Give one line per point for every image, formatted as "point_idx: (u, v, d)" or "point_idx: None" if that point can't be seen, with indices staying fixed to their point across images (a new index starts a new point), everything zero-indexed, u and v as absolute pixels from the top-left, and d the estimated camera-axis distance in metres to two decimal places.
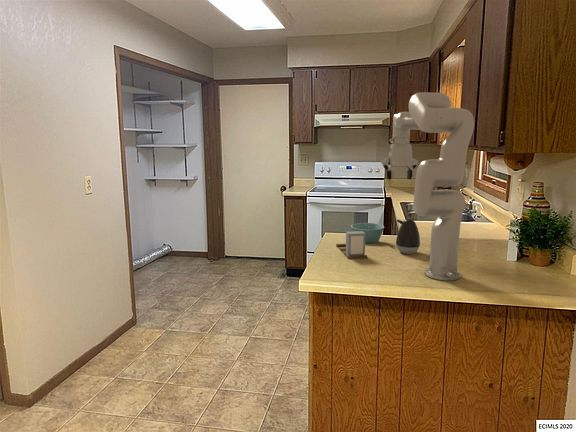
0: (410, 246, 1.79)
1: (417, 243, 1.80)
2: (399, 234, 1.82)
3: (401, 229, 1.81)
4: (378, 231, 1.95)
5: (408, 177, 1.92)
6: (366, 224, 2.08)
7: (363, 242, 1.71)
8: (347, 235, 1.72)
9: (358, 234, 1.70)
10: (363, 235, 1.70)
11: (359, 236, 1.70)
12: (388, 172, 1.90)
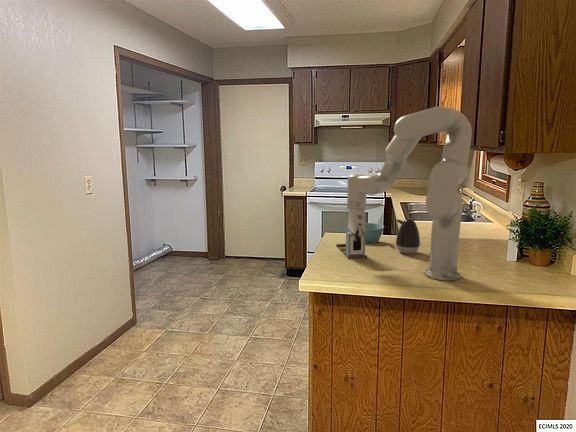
0: (410, 246, 1.79)
1: (417, 243, 1.80)
2: (399, 234, 1.82)
3: (401, 229, 1.81)
4: (378, 231, 1.95)
5: None
6: (366, 224, 2.08)
7: (363, 242, 1.71)
8: (347, 235, 1.72)
9: None
10: (363, 235, 1.70)
11: None
12: (359, 242, 1.70)
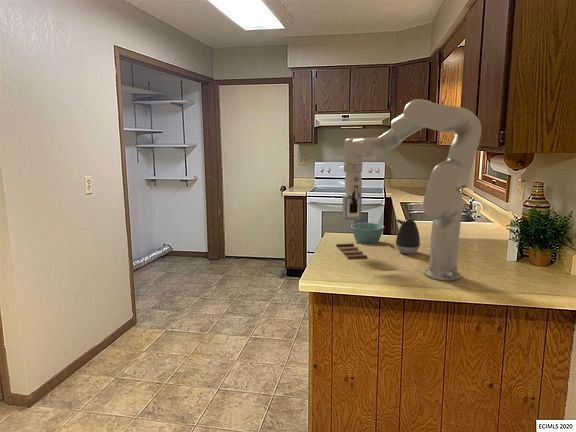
0: (410, 246, 1.79)
1: (417, 243, 1.80)
2: (399, 234, 1.82)
3: (401, 229, 1.81)
4: (378, 231, 1.95)
5: None
6: (366, 224, 2.08)
7: (359, 205, 1.75)
8: (344, 198, 1.75)
9: None
10: (359, 198, 1.74)
11: None
12: (355, 205, 1.73)
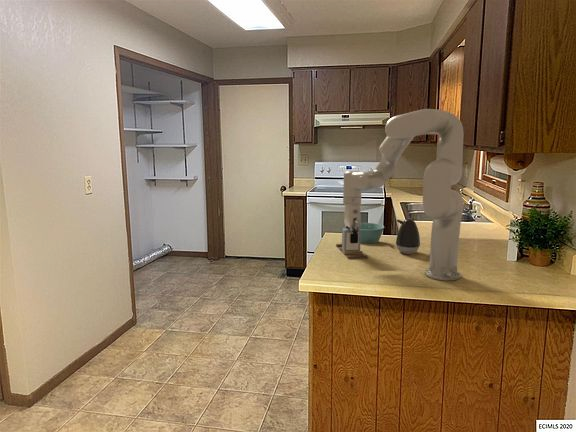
0: (410, 246, 1.79)
1: (417, 243, 1.80)
2: (399, 234, 1.82)
3: (401, 229, 1.81)
4: (378, 231, 1.95)
5: None
6: (366, 224, 2.08)
7: (358, 238, 1.77)
8: (343, 232, 1.78)
9: None
10: (358, 232, 1.77)
11: None
12: (356, 235, 1.74)
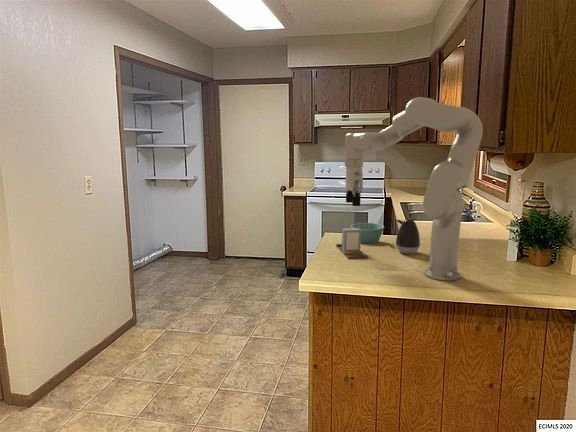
0: (410, 246, 1.79)
1: (417, 243, 1.80)
2: (399, 234, 1.82)
3: (401, 229, 1.81)
4: (378, 231, 1.95)
5: (350, 200, 1.81)
6: (366, 224, 2.08)
7: (358, 238, 1.77)
8: (343, 232, 1.78)
9: (354, 231, 1.76)
10: (358, 232, 1.77)
11: (354, 233, 1.77)
12: (358, 198, 1.71)
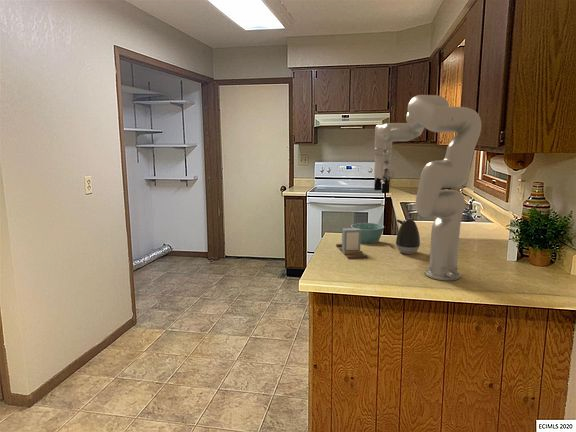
0: (410, 246, 1.79)
1: (417, 243, 1.80)
2: (399, 234, 1.82)
3: (401, 229, 1.81)
4: (378, 231, 1.95)
5: (378, 188, 1.91)
6: (366, 224, 2.08)
7: (358, 238, 1.77)
8: (343, 232, 1.78)
9: (354, 231, 1.76)
10: (358, 232, 1.77)
11: (354, 233, 1.77)
12: (387, 185, 1.80)
